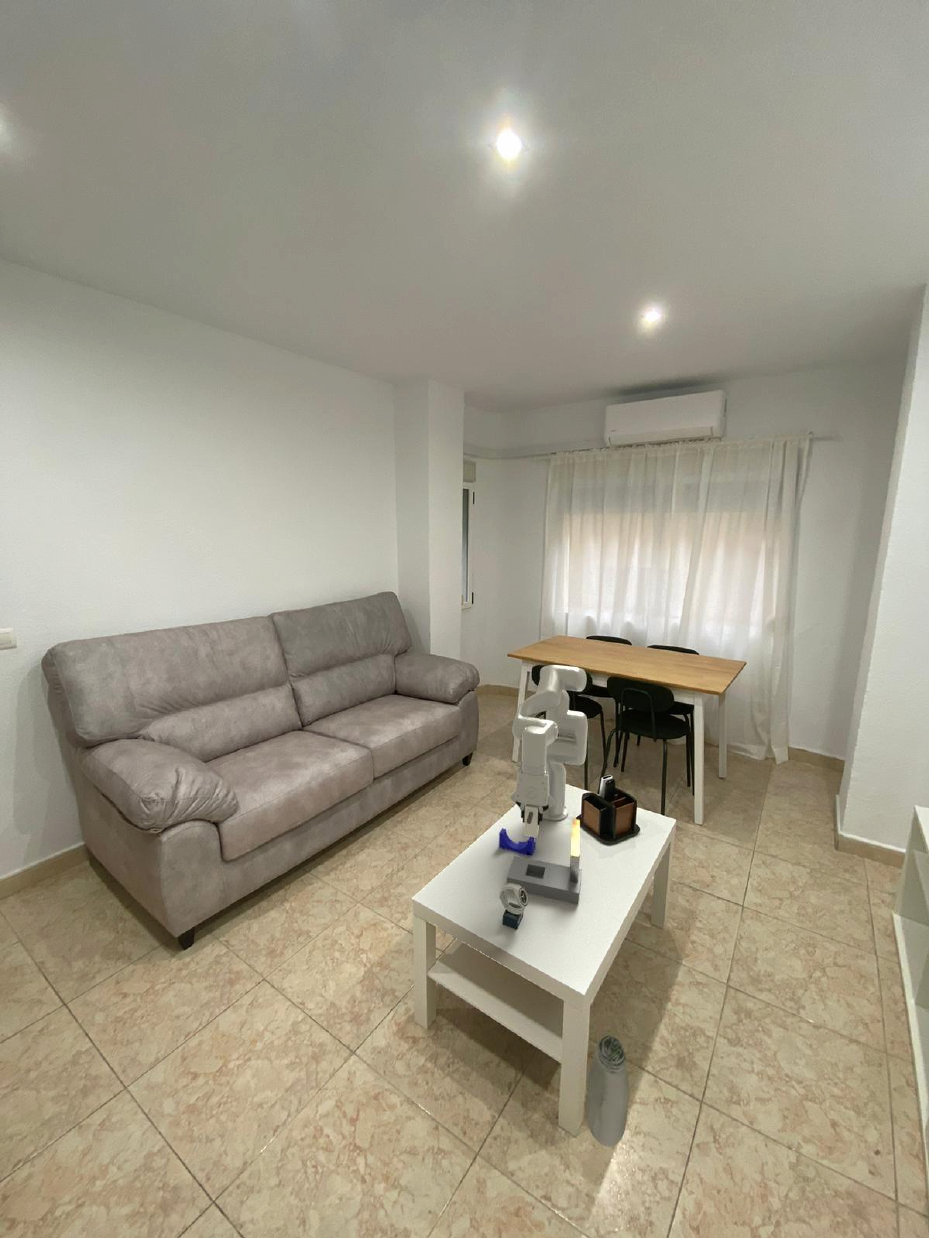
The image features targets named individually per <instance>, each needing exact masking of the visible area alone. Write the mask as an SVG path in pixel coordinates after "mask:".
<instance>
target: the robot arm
mask: <svg viewBox="0 0 929 1238" xmlns="http://www.w3.org/2000/svg"><path fill="white" fill-rule="evenodd" d="M586 685H587V674H586V671H585V669H583V668H581V667H577V666H567V665H561V664H560V665H558V664H550V665H545V666H543V667H542V668H541V669H540V671H539V682H538V685H537V689H536V692H535V694H532V695H530V696H529V697H528V698H526V699H525V700H524V701H522V702H521V704H519V706H518V708H517V709H516V713H515V717H514V719H513V723H512V728H511V729H512V730H511V731H512V735H513V736H514V737H515V739H517V740H520V741H521V759H520V760H517V761H516V766H518V767H519V768H518V771H517V775H516V784H515V789H514V791H513V792H512V794H511V795H510V797H509V799H510V800H511V801H513V802H514V803H515V804H516V805H517V806H518V808H519V810H520V819H522V823H524V822H525V805H526V804H530V805H536V806H538V807H539V812H538V825H539V826H540V824H541V822H543V821H544V819H545V820H547V821H553V822H555V821H557V822H558V821H563V820H564V819H566V818H567V817H568V816H569V809H568V807H567V806H566V805H565V803H566V784H567V770H566V768H565V766H564V764H567V765H572V766H573V765H574V766H581V765H583V764H584V763H585V761H586V756H587V743H588V742H587V741H588V729H589V728H588V723H589V721H588V718H587V715H586V714H585V713H584V712H582V711H576V710H570V696H569V693H568V692H567V691H572V692H579V693H580V692H583V690H585V688H586V687H587V686H586ZM543 712H545V718H539V717H531V716H533V715H534V714H538V713H543ZM559 735H562V736H563V735H564V736H570V737H573V738H568V737H561V736H559Z"/></svg>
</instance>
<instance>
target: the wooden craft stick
mask: <svg viewBox="0 0 929 1238" xmlns="http://www.w3.org/2000/svg"><path fill="white" fill-rule="evenodd" d="M571 821H572V823H571V824H572V825H571V846H570V848H571V849H570V855H569V856H570V857H569V867H570V873H569V879H570V881H572V882H577V881H578V879H579V869H580V861H581V859H580V857H581V856H580V824H581V823H580V822H581V821H580V819H577V818H576V819H575V818H572V820H571Z"/></svg>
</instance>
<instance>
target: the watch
mask: <svg viewBox="0 0 929 1238" xmlns="http://www.w3.org/2000/svg"><path fill="white" fill-rule="evenodd" d="M510 889H511V891H513V894H514V896H515V901H516V902H517V903H513V902H511V901H510V902H509V900H508V898H507V896H506V893H505V890H510ZM499 899H500V902H501V904H502V906H503V908H504V909H505V910H504V912H503V914H502V925H503V926H506V927H508V928H511V929H514V930H516V931H517V930H518V929H519V926H520V924H521V922H522V919H523V917H524V911H525V909H526V907H527V906H528V904H529V895H528V893H527V892H526V890H525V889H524V888H523V887H521V886H520V885H517V884H514V883H508V884H507V883H506V884H504V886H503V887H502V889H501V891H500V892H499Z"/></svg>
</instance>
